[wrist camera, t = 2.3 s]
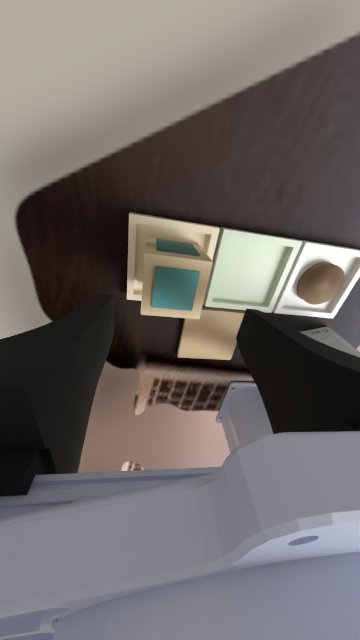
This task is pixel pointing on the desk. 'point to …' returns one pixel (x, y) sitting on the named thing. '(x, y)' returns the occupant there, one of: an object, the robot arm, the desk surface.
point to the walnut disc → (320, 283)
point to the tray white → (307, 256)
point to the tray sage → (249, 269)
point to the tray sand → (166, 229)
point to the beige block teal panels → (174, 278)
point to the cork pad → (210, 334)
